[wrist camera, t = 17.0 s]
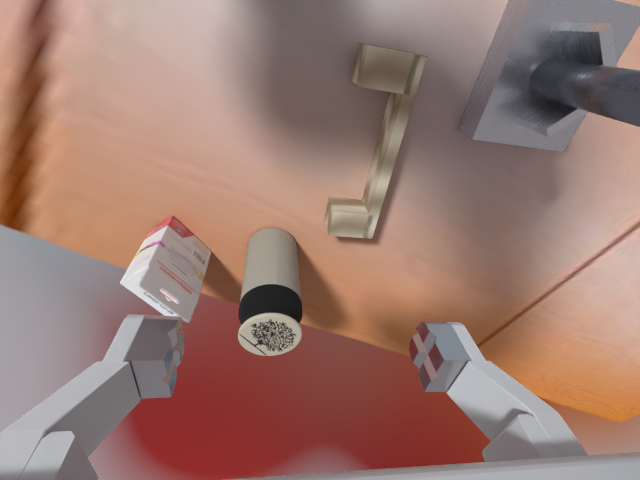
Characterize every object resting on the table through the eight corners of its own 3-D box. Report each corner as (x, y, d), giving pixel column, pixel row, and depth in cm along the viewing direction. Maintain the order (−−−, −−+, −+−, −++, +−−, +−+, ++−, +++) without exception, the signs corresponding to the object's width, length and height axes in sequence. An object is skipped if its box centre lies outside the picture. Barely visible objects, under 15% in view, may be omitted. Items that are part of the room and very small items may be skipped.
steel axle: (540, 55, 36) (676, 74, 23) (569, 61, 36) (717, 82, 24) (522, 93, 38) (638, 128, 26) (550, 98, 39) (676, 135, 26)
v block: (514, -15, 35) (577, -25, 28) (616, 10, 37) (699, 7, 30) (457, 130, 44) (493, 152, 36) (543, 143, 46) (593, 165, 39)
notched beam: (358, 42, 36) (367, 45, 33) (412, 53, 38) (427, 56, 34) (324, 219, 50) (328, 235, 46) (365, 222, 51) (372, 238, 47)
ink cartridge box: (148, 229, 47) (104, 301, 35) (173, 214, 46) (137, 281, 34) (189, 265, 52) (163, 339, 40) (213, 252, 51) (193, 323, 39)
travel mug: (283, 219, 49) (286, 304, 34) (304, 255, 53) (314, 344, 39) (238, 238, 50) (222, 329, 35) (262, 272, 54) (257, 365, 40)
